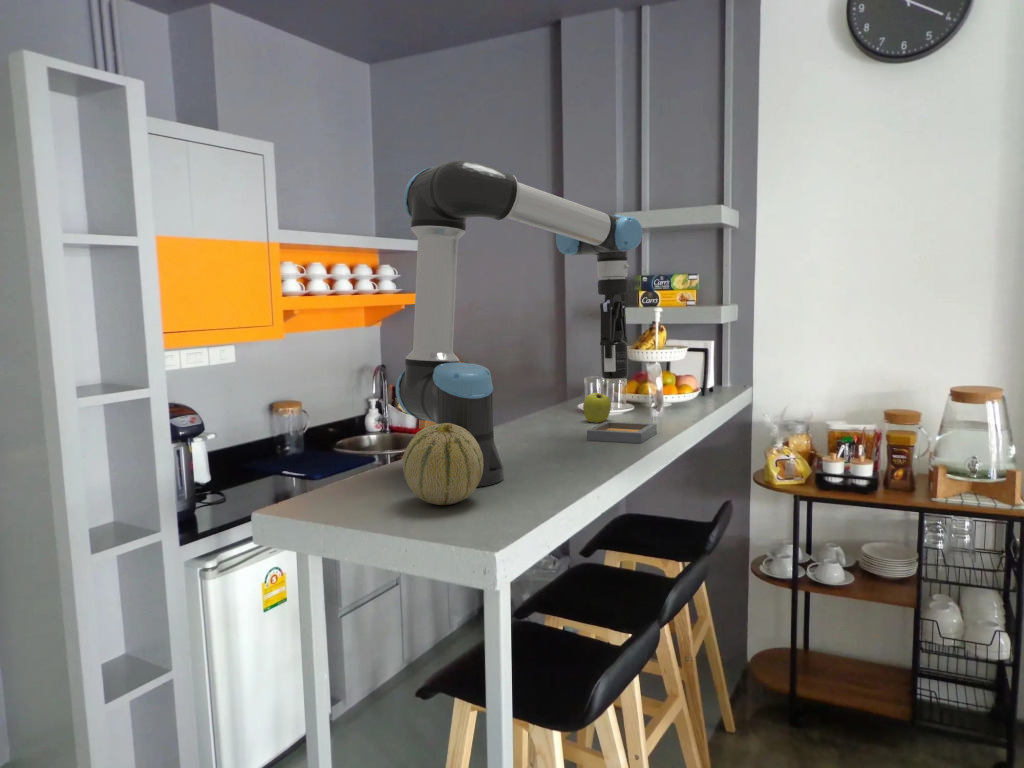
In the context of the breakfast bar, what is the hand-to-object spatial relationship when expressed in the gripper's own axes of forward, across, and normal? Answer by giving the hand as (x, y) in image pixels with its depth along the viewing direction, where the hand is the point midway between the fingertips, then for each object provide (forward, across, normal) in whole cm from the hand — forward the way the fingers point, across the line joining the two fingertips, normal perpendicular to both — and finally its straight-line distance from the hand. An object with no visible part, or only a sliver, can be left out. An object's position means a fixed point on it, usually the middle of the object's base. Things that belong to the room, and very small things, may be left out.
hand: (614, 369), depth 193 cm
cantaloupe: (+17, -69, +10) cm, 72 cm away
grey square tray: (+17, 0, -2) cm, 17 cm away
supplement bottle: (+2, 0, 0) cm, 2 cm away
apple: (+18, +20, +12) cm, 29 cm away
